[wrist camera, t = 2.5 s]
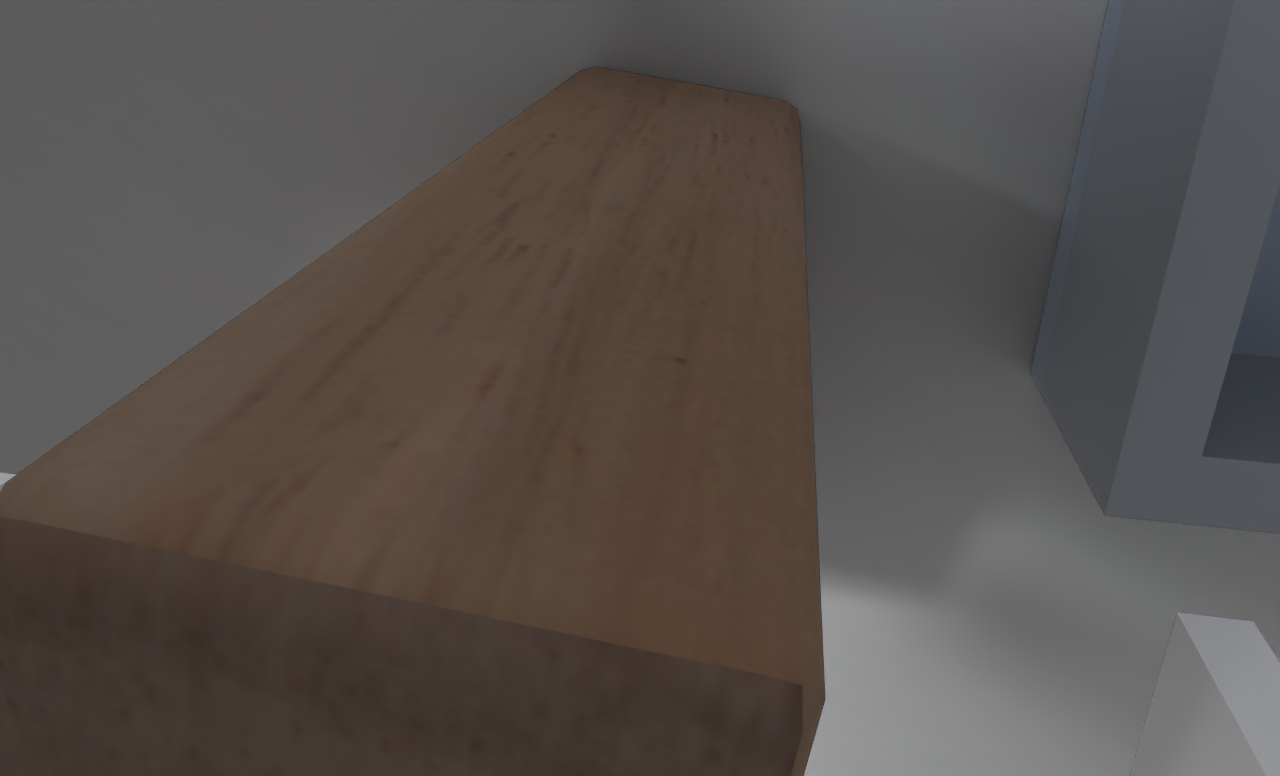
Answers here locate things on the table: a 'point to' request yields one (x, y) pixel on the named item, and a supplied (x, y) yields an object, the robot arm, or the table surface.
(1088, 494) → the table surface
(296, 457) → the wooden block
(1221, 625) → the robot arm
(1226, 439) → the open-top box
